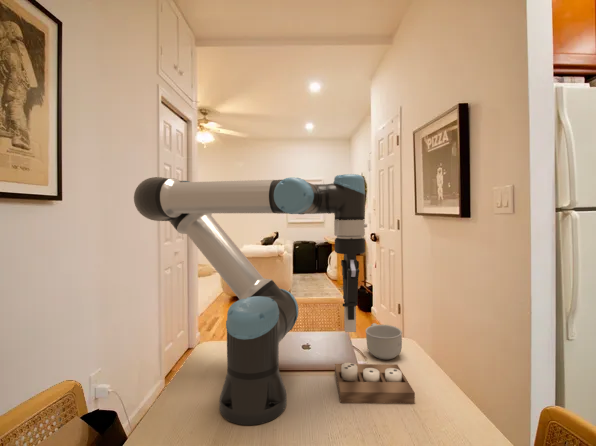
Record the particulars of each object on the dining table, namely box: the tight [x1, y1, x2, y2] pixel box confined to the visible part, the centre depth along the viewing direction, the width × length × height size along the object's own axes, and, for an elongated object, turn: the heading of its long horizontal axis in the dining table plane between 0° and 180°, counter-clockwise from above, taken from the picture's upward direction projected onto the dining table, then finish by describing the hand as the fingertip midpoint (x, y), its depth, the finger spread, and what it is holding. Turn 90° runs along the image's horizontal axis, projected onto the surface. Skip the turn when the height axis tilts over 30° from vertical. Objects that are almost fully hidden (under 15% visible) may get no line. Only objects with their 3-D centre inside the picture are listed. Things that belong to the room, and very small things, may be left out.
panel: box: [334, 363, 416, 405], centre depth 81 cm, size 17×14×2 cm
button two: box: [385, 368, 403, 382], centre depth 81 cm, size 4×4×3 cm
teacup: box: [365, 322, 403, 360], centre depth 101 cm, size 14×11×8 cm
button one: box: [363, 368, 379, 382], centre depth 81 cm, size 4×4×3 cm
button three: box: [341, 362, 357, 381], centre depth 81 cm, size 4×4×3 cm
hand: (350, 330), depth 81 cm, fingers closed
